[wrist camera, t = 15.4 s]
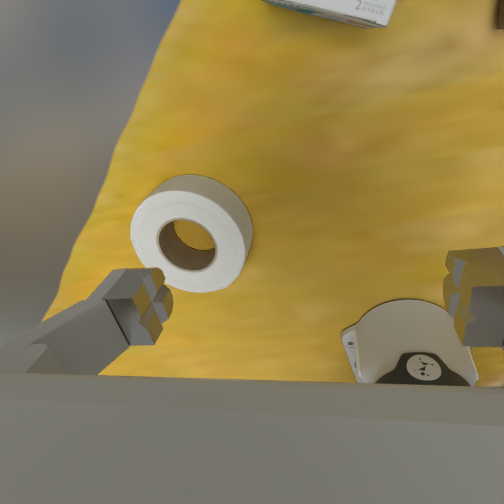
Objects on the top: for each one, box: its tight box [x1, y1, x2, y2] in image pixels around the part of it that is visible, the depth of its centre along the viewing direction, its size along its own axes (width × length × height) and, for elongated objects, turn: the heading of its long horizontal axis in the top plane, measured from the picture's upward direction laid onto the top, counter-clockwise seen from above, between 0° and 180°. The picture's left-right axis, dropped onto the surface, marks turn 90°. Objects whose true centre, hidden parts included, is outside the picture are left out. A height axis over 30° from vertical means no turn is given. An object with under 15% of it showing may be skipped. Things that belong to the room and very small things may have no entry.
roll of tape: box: [130, 175, 253, 292], centre depth 47 cm, size 16×16×6 cm
